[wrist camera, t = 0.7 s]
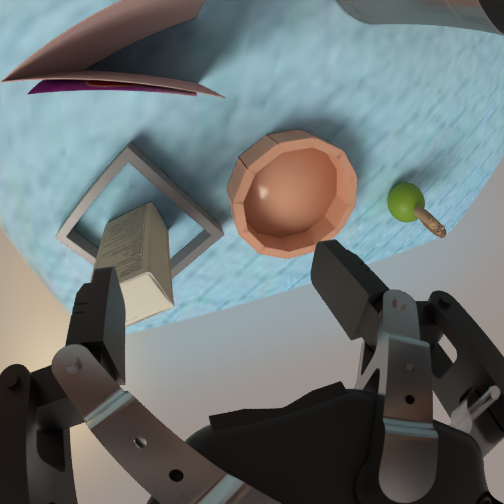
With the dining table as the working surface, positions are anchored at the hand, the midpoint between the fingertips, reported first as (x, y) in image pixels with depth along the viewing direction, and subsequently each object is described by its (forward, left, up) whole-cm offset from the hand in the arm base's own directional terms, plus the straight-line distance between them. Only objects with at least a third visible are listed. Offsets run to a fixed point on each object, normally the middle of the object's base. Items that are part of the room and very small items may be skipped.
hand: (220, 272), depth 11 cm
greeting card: (-4, -10, -20) cm, 23 cm away
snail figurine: (-17, +23, -20) cm, 35 cm away
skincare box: (+10, +3, -20) cm, 23 cm away
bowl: (-5, +12, -20) cm, 24 cm away
